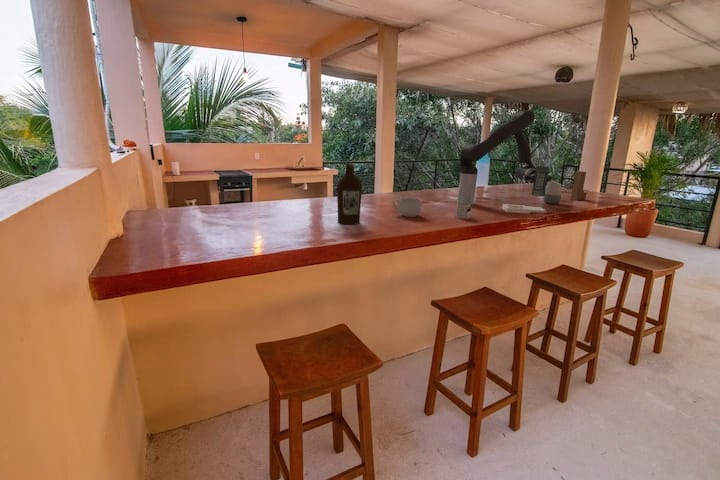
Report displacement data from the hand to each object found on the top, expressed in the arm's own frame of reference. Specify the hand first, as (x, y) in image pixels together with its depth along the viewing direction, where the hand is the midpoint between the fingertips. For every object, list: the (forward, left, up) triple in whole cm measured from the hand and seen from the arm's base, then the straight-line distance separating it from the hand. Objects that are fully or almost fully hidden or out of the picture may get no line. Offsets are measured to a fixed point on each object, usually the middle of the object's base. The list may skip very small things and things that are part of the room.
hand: (541, 179), depth 193 cm
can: (0, +1, -9) cm, 9 cm away
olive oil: (-92, -55, -17) cm, 109 cm away
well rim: (-11, -3, -17) cm, 20 cm away
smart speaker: (+16, +27, -17) cm, 36 cm away
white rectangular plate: (0, +1, -17) cm, 17 cm away
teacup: (-68, -33, -17) cm, 78 cm away
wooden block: (+39, +49, -17) cm, 65 cm away
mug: (-41, -28, -17) cm, 53 cm away
